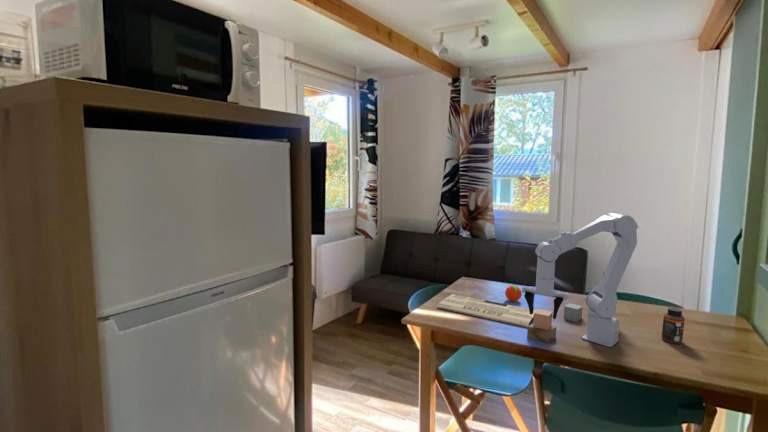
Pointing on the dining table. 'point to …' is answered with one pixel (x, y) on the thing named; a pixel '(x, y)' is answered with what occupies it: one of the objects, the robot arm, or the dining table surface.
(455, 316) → the dining table surface
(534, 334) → the walnut block
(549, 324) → the terracotta cube
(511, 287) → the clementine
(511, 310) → the newspaper
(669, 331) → the supplement bottle
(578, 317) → the slate cube
